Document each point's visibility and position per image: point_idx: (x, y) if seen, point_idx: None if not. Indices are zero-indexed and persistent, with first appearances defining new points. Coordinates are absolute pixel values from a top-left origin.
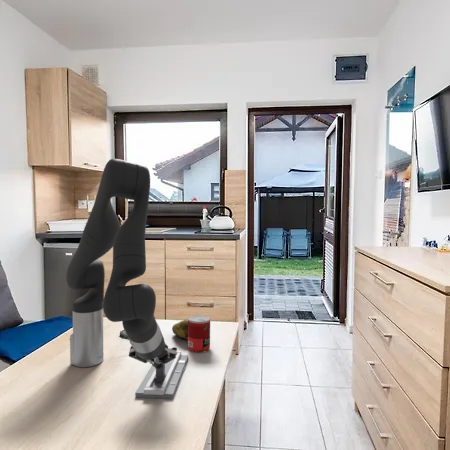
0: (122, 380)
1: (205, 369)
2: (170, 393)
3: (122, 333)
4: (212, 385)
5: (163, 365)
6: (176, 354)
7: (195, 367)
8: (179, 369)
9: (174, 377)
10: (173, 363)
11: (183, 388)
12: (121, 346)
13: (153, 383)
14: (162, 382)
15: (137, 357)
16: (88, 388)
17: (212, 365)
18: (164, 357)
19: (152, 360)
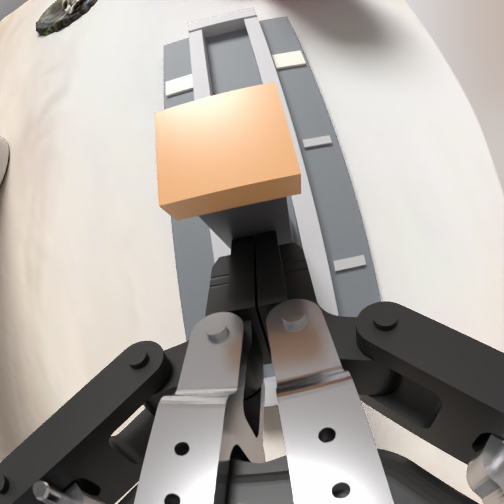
0: (90, 261)
1: (400, 79)
2: None
3: (40, 25)
4: (489, 197)
5: (290, 238)
6: (239, 25)
7: (353, 71)
8: (313, 116)
9: (328, 196)
10: None
11: (397, 255)
12: (44, 63)
13: None
14: None
15: (116, 498)
16: (23, 345)
17: (405, 52)
18: (384, 380)
19: (262, 447)
